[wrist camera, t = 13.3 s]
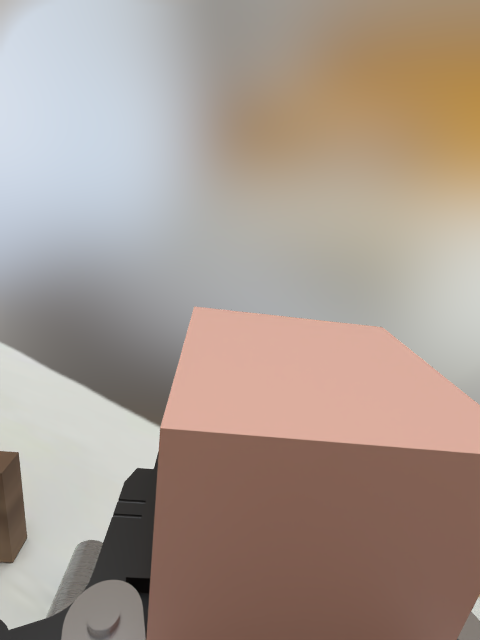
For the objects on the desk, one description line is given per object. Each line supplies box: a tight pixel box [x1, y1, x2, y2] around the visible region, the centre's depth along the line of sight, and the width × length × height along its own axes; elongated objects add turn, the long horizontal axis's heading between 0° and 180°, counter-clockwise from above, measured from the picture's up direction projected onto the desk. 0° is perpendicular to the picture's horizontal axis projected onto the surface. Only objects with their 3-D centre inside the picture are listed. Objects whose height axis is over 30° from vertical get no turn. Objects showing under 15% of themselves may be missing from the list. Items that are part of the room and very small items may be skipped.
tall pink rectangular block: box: [146, 307, 480, 640], centre depth 8 cm, size 4×4×12 cm
